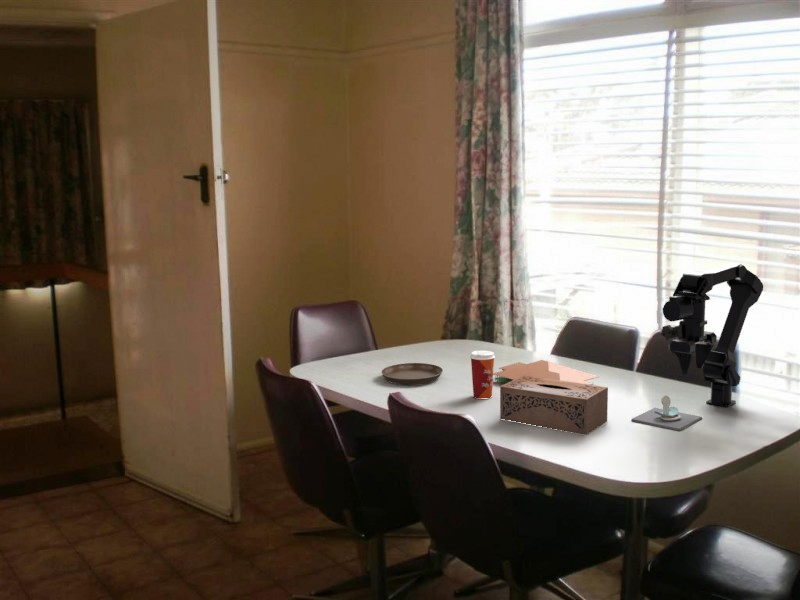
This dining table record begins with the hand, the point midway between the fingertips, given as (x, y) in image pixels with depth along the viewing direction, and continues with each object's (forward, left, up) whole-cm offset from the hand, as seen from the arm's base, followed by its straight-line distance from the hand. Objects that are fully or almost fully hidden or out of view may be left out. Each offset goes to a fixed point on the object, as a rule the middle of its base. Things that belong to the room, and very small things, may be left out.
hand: (692, 371), depth 240 cm
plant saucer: (+21, -88, -12) cm, 91 cm away
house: (-1, -49, -13) cm, 51 cm away
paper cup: (+24, -56, -12) cm, 62 cm away
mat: (+11, -2, -12) cm, 16 cm away
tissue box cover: (+31, -26, -12) cm, 42 cm away
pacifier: (+11, -1, -12) cm, 16 cm away
